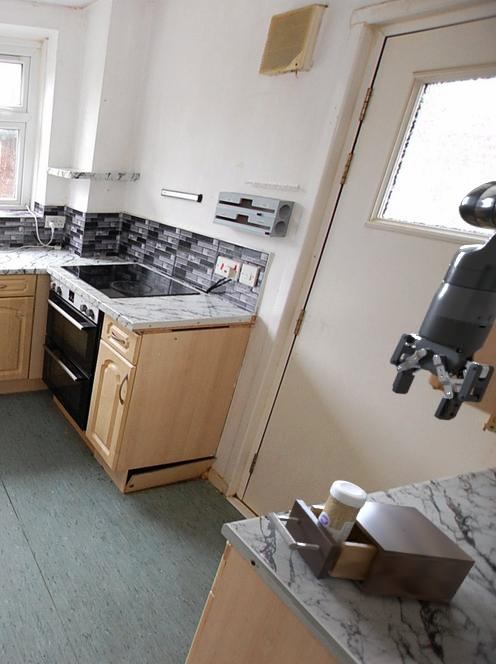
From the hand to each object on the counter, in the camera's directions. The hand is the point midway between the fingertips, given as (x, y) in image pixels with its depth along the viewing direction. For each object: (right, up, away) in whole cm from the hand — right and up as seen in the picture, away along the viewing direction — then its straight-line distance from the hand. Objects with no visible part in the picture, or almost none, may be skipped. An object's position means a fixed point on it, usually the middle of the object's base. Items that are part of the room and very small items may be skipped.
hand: (419, 405), depth 77 cm
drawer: (-15, -27, +3) cm, 31 cm away
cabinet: (-5, -29, +2) cm, 29 cm away
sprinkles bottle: (-15, -26, +2) cm, 30 cm away
